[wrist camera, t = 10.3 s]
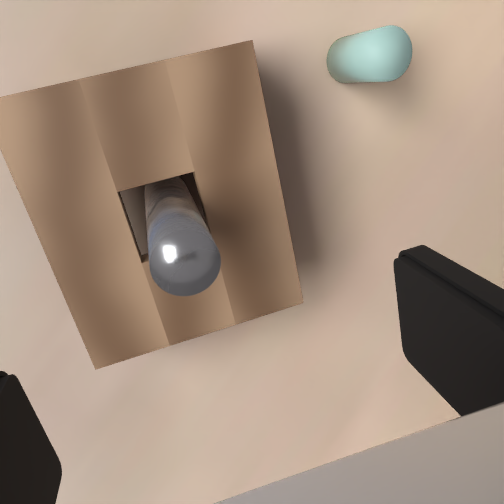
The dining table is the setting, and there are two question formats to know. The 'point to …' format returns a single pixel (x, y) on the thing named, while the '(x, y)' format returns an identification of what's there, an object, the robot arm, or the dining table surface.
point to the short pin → (370, 56)
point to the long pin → (178, 240)
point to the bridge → (144, 172)
